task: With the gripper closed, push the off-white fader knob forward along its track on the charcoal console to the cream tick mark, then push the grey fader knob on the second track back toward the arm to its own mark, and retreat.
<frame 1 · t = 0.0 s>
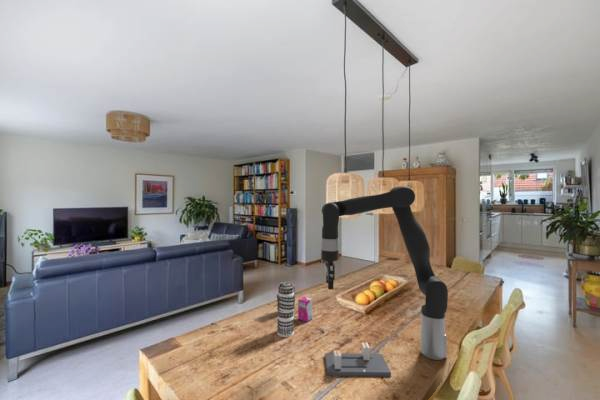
hand: (329, 285, 116), 29 cm above the table, fingers open, 8 cm apart
white fader: (365, 350, 110), point 4 cm above the table, slide at 0.0 cm
decorative candle: (285, 333, 134), on the table
console: (356, 366, 107), on the table
skincare box: (286, 312, 159), on the table
grey fader: (337, 359, 104), point 4 cm above the table, slide at 0.0 cm
supplement box: (305, 319, 148), on the table
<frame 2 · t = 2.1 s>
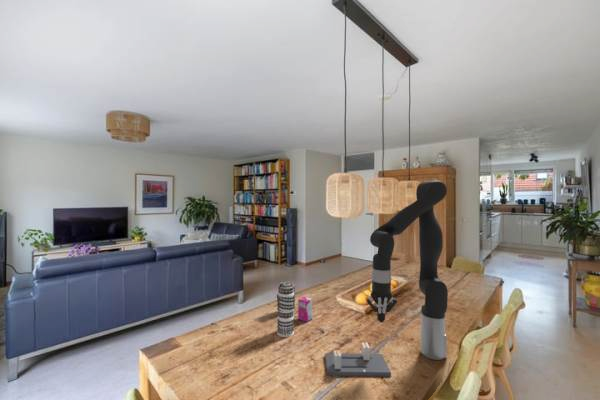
hand: (380, 321, 110), 17 cm above the table, fingers closed
nothing on the table moved.
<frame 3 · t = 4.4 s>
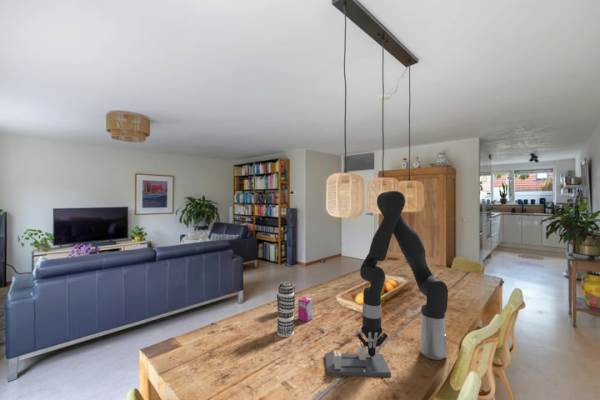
hand: (371, 355, 110), 3 cm above the table, fingers closed
white fader: (361, 350, 110), point 4 cm above the table, slide at 1.7 cm, touching gripper
everything else where it was.
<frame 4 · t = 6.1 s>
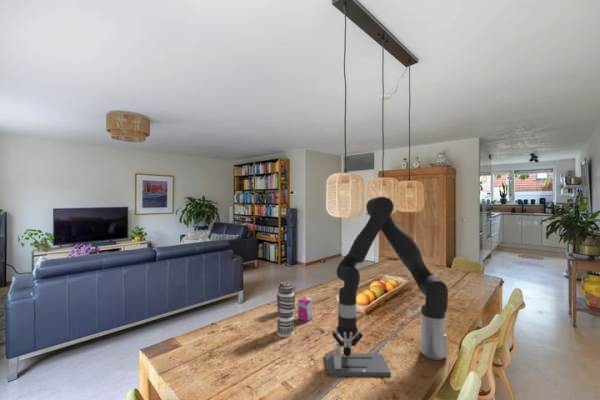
hand: (346, 355, 110), 3 cm above the table, fingers closed
white fader: (337, 350, 110), point 4 cm above the table, slide at 11.8 cm, touching gripper
everything else where it was.
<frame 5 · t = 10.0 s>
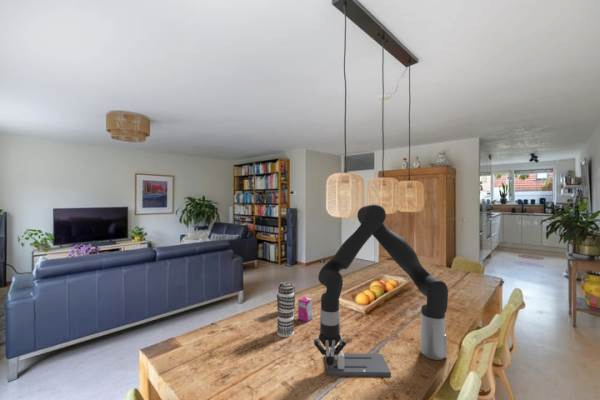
hand: (329, 364, 104), 2 cm above the table, fingers closed
white fader: (337, 350, 110), point 4 cm above the table, slide at 11.8 cm
grey fader: (340, 359, 104), point 4 cm above the table, slide at 1.2 cm, touching gripper
everything else where it was.
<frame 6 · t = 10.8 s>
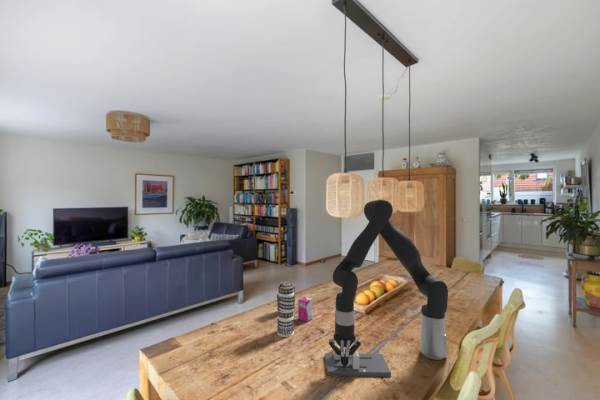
hand: (344, 364, 104), 2 cm above the table, fingers closed
grey fader: (355, 359, 104), point 4 cm above the table, slide at 7.0 cm, touching gripper
everything else where it was.
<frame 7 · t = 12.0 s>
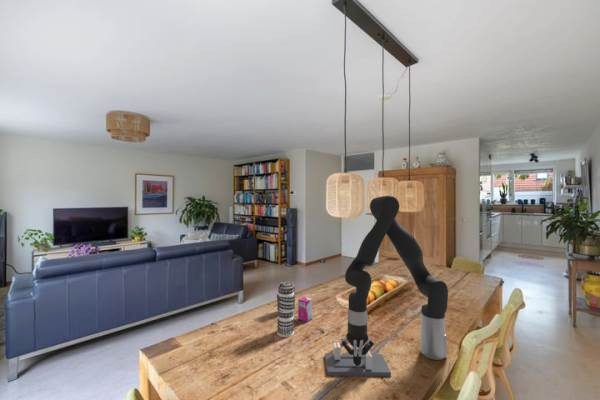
hand: (357, 364, 104), 2 cm above the table, fingers closed
grey fader: (367, 359, 104), point 4 cm above the table, slide at 11.9 cm, touching gripper
everything else where it was.
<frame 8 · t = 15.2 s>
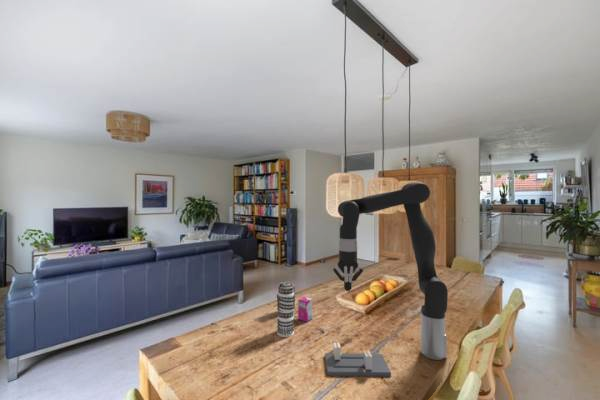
hand: (347, 290, 111), 29 cm above the table, fingers closed
grey fader: (367, 359, 104), point 4 cm above the table, slide at 11.9 cm
everything else where it was.
at the end: white fader slide at 11.8 cm; grey fader slide at 11.9 cm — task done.
